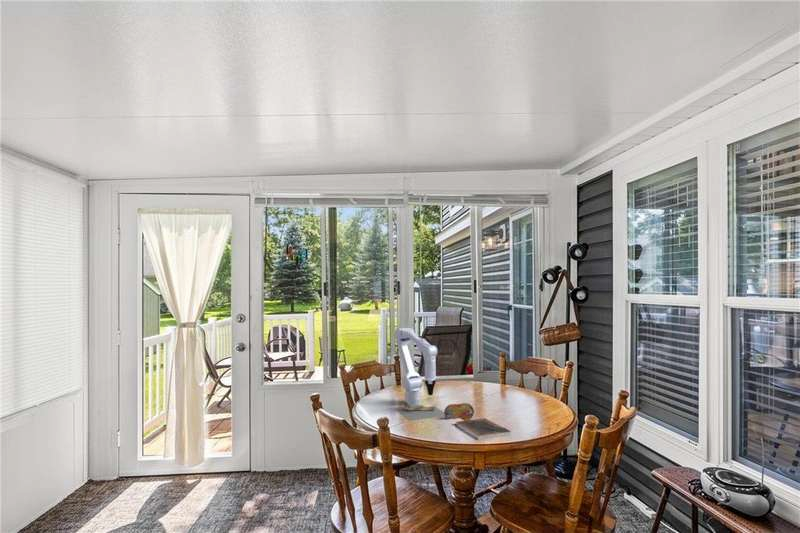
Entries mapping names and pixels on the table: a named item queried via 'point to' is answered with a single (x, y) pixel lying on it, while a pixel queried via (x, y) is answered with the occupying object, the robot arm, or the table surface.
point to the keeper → (416, 403)
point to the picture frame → (482, 428)
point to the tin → (459, 411)
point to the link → (420, 407)
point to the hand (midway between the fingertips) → (430, 394)
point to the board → (421, 413)
